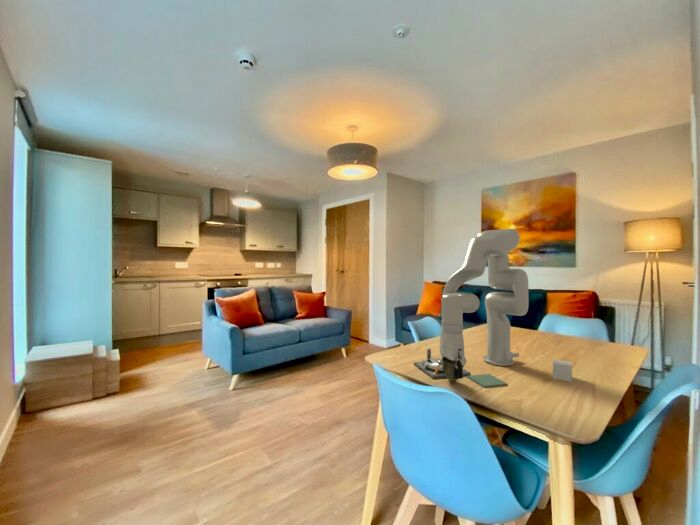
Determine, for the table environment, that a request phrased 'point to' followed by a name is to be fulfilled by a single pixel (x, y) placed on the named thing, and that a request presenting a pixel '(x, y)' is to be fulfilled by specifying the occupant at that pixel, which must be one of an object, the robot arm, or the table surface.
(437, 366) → the sprocket wheel
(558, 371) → the grey cube
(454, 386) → the table surface
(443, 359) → the cup
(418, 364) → the index board
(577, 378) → the table surface
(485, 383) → the seat mat
